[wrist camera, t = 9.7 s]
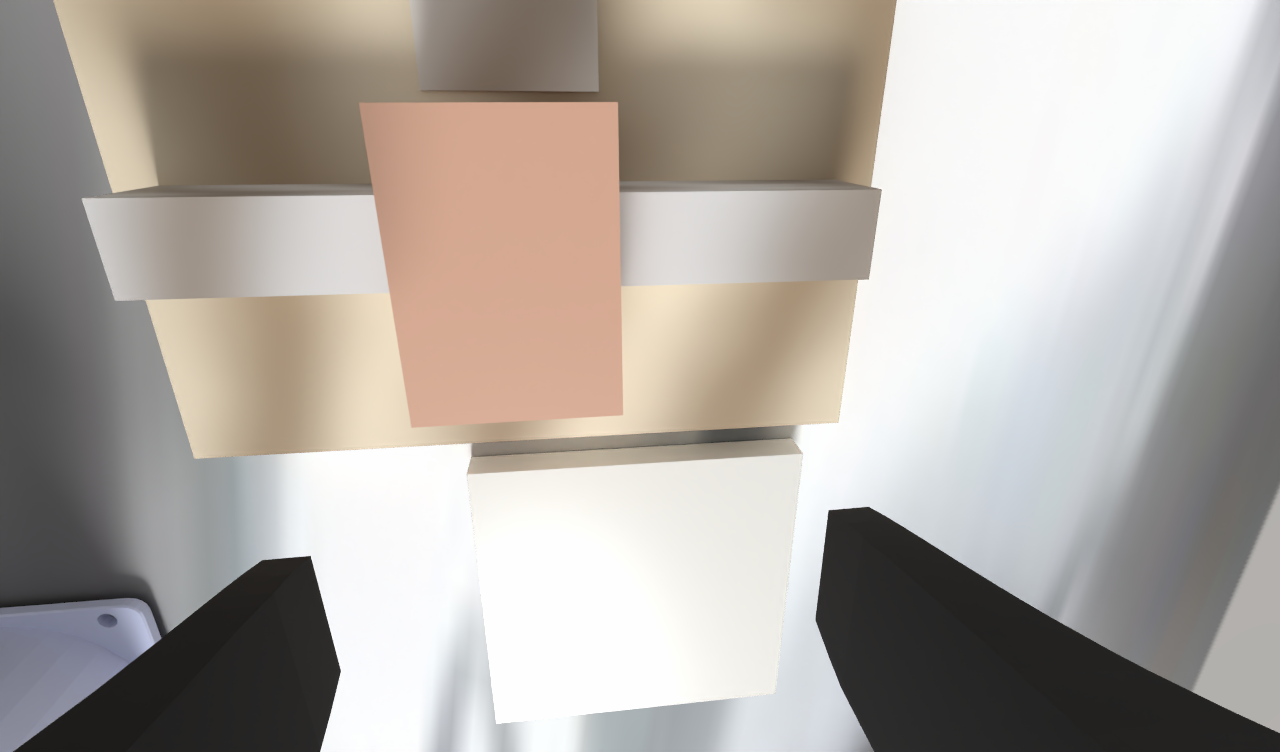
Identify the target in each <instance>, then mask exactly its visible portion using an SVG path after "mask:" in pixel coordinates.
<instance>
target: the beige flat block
mask: <svg viewBox="0 0 1280 752" xmlns="http://www.w3.org/2000/svg"><path fill="white" fill-rule="evenodd" d="M53 1H54V4H55V7H56V11H57V14H58V17H59V20H60V24H61V27H62V30H63V33H64V37H65V40H66V43H67V46H68V50H69V53H70V56H71V59H72V63H73V66H74V69H75V72H76V76H77V79H78V82H79V85H80V89H81V92H82V95H83V98H84V102H85V105H86V108H87V111H88V115H89V118H90V121H91V124H92V128H93V131H94V134H95V137H96V141H97V144H98V147H99V150H100V154H101V157H102V160H103V163H104V167H105V170H106V173H107V176H108V179H109V183H110V186H111V189H112V192H113V193H111V194H105V195H99V196H93V197H87V198H82V201H83V204H84V207H85V210H86V213H87V217H88V220H89V223H90V226H91V229H92V232H93V235H94V238H95V241H96V244H97V247H98V250H99V253H100V256H101V259H102V262H103V265H104V268H105V272H106V275H107V278H108V281H109V284H110V287H111V290H112V293H113V296H114V299H115V301H126V300H146V303H147V306H148V309H149V313H150V316H151V319H152V322H153V326H154V329H155V332H156V335H157V339H158V342H159V345H160V348H161V352H162V355H163V358H164V361H165V365H166V368H167V371H168V374H169V378H170V381H171V384H172V387H173V390H174V394H175V397H176V400H177V403H178V407H179V410H180V413H181V416H182V420H183V423H184V426H185V429H186V433H187V436H188V439H189V442H190V446H191V449H192V452H193V455H194V459H198V458H215V457H233V456H251V455H269V454H287V453H305V452H322V451H340V450H358V449H376V448H394V447H412V446H430V445H447V444H465V443H483V442H501V441H519V440H537V439H555V438H572V437H590V436H608V435H626V434H644V433H662V432H680V431H697V430H715V429H733V428H751V427H769V426H787V425H804V424H822V423H838V422H839V415H840V408H841V400H842V393H843V386H844V379H845V371H846V364H847V357H848V350H849V342H850V335H851V328H852V320H853V313H854V306H855V299H856V291H857V284H858V280H864V279H869V274H870V267H871V260H872V253H873V246H874V239H875V233H876V226H877V219H878V212H879V205H880V198H881V191H882V190H881V189H877V188H872V187H871V182H872V175H873V168H874V161H875V153H876V146H877V139H878V132H879V124H880V117H881V110H882V103H883V95H884V88H885V81H886V73H887V66H888V59H889V52H890V44H891V37H892V30H893V23H894V15H895V8H896V1H897V0H53ZM435 102H618V137H619V196H620V255H621V314H622V373H623V415H619V416H602V417H585V418H568V419H551V420H534V421H517V422H500V423H484V424H467V425H450V426H433V427H416V428H411V422H410V416H409V409H408V403H407V397H406V391H405V385H404V379H403V372H402V366H401V360H400V354H399V348H398V341H397V335H396V329H395V323H394V317H393V311H392V304H391V298H390V292H389V286H388V280H387V274H386V267H385V261H384V255H383V249H382V243H381V237H380V230H379V224H378V218H377V212H376V206H375V200H374V193H373V187H372V181H371V175H370V169H369V163H368V156H367V150H366V144H365V138H364V132H363V126H362V119H361V113H360V107H359V103H435Z"/></svg>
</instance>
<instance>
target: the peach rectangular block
mask: <svg viewBox="0 0 1280 752" xmlns="http://www.w3.org/2000/svg"><path fill="white" fill-rule="evenodd" d="M359 107H360V113H361V119H362V126H363V132H364V138H365V144H366V150H367V156H368V163H369V169H370V175H371V181H372V187H373V193H374V200H375V206H376V212H377V218H378V224H379V230H380V237H381V243H382V249H383V255H384V261H385V267H386V274H387V280H388V286H389V292H390V298H391V304H392V311H393V317H394V323H395V329H396V335H397V341H398V348H399V354H400V360H401V366H402V372H403V379H404V385H405V391H406V397H407V403H408V409H409V416H410V422H411V428H416V427H433V426H450V425H467V424H484V423H500V422H517V421H534V420H551V419H568V418H585V417H602V416H619V415H623V373H622V314H621V255H620V196H619V137H618V102H435V103H359Z"/></svg>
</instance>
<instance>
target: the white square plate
mask: <svg viewBox="0 0 1280 752" xmlns="http://www.w3.org/2000/svg"><path fill="white" fill-rule="evenodd" d="M802 458H803V453H802V452H801V450H800V449H799V448H798V446H797V445H796V444H795V442H794V441H793V440H792V438H789V439H772V440H755V441H738V442H721V443H704V444H687V445H670V446H653V447H636V448H619V449H601V450H584V451H567V452H550V453H533V454H516V455H499V456H482V457H471V460H470V464H469V468H468V472H467V480H468V489H469V497H470V505H471V514H472V522H473V531H474V539H475V547H476V556H477V564H478V572H479V581H480V589H481V598H482V606H483V614H484V623H485V631H486V639H487V648H488V656H489V665H490V673H491V681H492V690H493V698H494V706H495V715H496V723H507V722H516V721H525V720H535V719H544V718H553V717H563V716H572V715H581V714H591V713H600V712H609V711H619V710H628V709H637V708H647V707H656V706H665V705H675V704H684V703H693V702H703V701H712V700H721V699H731V698H740V697H749V696H759V695H768V694H775V691H776V682H777V674H778V665H779V656H780V648H781V639H782V631H783V622H784V613H785V605H786V596H787V588H788V579H789V570H790V562H791V553H792V544H793V536H794V527H795V519H796V510H797V501H798V493H799V484H800V476H801V467H802Z"/></svg>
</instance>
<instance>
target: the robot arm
mask: <svg viewBox="0 0 1280 752" xmlns="http://www.w3.org/2000/svg"><path fill="white" fill-rule="evenodd" d="M109 614H110V615H112V616H114V617H115V618H114V617H112V616H110V615H109ZM816 623H817V625H818V628H819V631H820V633H821V636H822V639H823V642H824V644H825V647H826V650H827V653H828V655H829V658H830V660H831V663H832V666H833V668H834V671H835V673H836V676H837V678H838V681H839V683H840V686H841V688H842V690H843V692H844V694H845V696H846V698H847V700H848V702H849V704H850V706H851V708H852V710H853V711H854V713H855V715H856V717H857V719H858V721H859V723H860V725H861V727H862V729H863V731H864V733H865V735H866V737H867V738H868V740H869V742H870V744H871V746H872V748H873V750H874V752H1280V733H1278V732H1275V731H1274V730H1271V729H1269V728H1267V727H1265V726H1263V725H1260V724H1258V723H1256V722H1254V721H1251V720H1249V719H1247V718H1245V717H1243V716H1241V715H1239V714H1236V713H1234V712H1232V711H1230V710H1228V709H1226V708H1224V707H1222V706H1220V705H1218V704H1216V703H1213V702H1211V701H1209V700H1207V699H1205V698H1203V697H1201V696H1199V695H1197V694H1195V693H1193V692H1191V691H1189V690H1187V689H1185V688H1183V687H1181V686H1179V685H1177V684H1175V683H1173V682H1171V681H1169V680H1167V679H1165V678H1163V677H1160V676H1158V675H1156V674H1154V673H1152V672H1150V671H1148V670H1146V669H1144V668H1143V667H1141V666H1139V665H1137V664H1135V663H1133V662H1131V661H1129V660H1127V659H1125V658H1123V657H1121V656H1120V655H1118V654H1116V653H1114V652H1112V651H1110V650H1108V649H1107V648H1105V647H1103V646H1101V645H1099V644H1098V643H1096V642H1094V641H1092V640H1090V639H1089V638H1087V637H1085V636H1083V635H1081V634H1080V633H1078V632H1076V631H1074V630H1072V629H1071V628H1069V627H1067V626H1065V625H1063V624H1062V623H1060V622H1058V621H1056V620H1054V619H1053V618H1051V617H1049V616H1048V615H1046V614H1044V613H1042V612H1041V611H1039V610H1037V609H1036V608H1034V607H1032V606H1030V605H1029V604H1027V603H1025V602H1024V601H1022V600H1020V599H1019V598H1017V597H1015V596H1014V595H1012V594H1010V593H1009V592H1007V591H1005V590H1004V589H1002V588H1000V587H999V586H997V585H995V584H994V583H992V582H991V581H989V580H987V579H986V578H984V577H982V576H981V575H979V574H977V573H976V572H974V571H973V570H971V569H969V568H968V567H966V566H965V565H963V564H961V563H960V562H958V561H957V560H955V559H953V558H952V557H950V556H949V555H947V554H946V553H944V552H942V551H941V550H939V549H938V548H936V547H934V546H933V545H931V544H930V543H928V542H926V541H925V540H923V539H922V538H920V537H918V536H917V535H915V534H914V533H912V532H910V531H909V530H907V529H906V528H904V527H902V526H901V525H899V524H897V523H896V522H894V521H893V520H891V519H889V518H887V517H886V516H884V515H882V514H881V513H879V512H877V511H875V510H873V509H871V508H870V507H862V508H851V509H839V510H829V512H828V520H827V528H826V537H825V545H824V553H823V562H822V570H821V578H820V586H819V595H818V603H817V611H816ZM340 672H341V670H340V666H339V662H338V659H337V655H336V651H335V647H334V643H333V640H332V636H331V632H330V628H329V624H328V621H327V617H326V613H325V609H324V606H323V602H322V598H321V594H320V590H319V587H318V583H317V579H316V575H315V571H314V568H313V564H312V560H311V556H306V557H295V558H283V559H272V560H262V561H261V562H259V563H258V564H256V565H255V566H254V567H252V568H251V569H249V570H248V571H247V572H245V573H244V574H243V575H241V576H240V577H239V578H237V579H236V580H235V581H233V582H232V583H231V584H230V585H228V586H227V587H226V588H224V589H223V590H222V591H221V592H219V593H218V594H217V595H216V596H214V597H213V598H212V599H210V600H209V601H208V602H207V603H205V604H204V605H203V606H202V607H200V608H199V609H198V610H197V611H195V612H194V613H193V614H192V615H190V616H189V617H188V618H187V619H185V620H184V621H183V622H182V623H180V624H179V625H178V626H177V627H175V628H174V629H173V630H172V631H170V632H169V633H168V634H167V635H165V636H164V637H163V638H161V636H160V633H159V630H158V628H157V625H156V622H155V620H154V617H153V614H152V612H151V609H150V608H149V606H148V605H147V604H146V603H145V602H143V601H142V600H139V599H136V598H121V599H108V600H95V601H83V602H70V603H57V604H45V605H32V606H19V607H7V608H0V752H320V750H321V746H322V742H323V739H324V735H325V732H326V728H327V724H328V721H329V717H330V713H331V709H332V705H333V701H334V697H335V693H336V689H337V685H338V680H339V676H340Z"/></svg>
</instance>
